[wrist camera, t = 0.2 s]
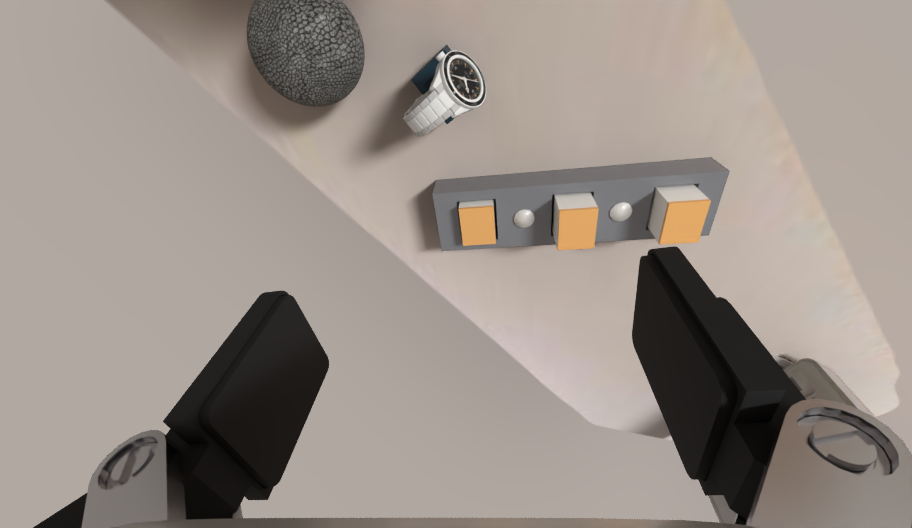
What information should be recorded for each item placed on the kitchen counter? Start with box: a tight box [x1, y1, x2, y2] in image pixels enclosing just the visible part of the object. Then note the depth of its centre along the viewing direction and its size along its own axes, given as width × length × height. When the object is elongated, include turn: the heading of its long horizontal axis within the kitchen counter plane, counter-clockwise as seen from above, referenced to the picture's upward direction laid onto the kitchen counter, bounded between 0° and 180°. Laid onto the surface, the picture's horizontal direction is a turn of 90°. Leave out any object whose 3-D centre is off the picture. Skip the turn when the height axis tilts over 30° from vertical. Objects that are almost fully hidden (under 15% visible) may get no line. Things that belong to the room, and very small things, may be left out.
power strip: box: [432, 157, 729, 251], centre depth 45 cm, size 8×32×4 cm, turn 97°
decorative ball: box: [247, 0, 364, 106], centre depth 35 cm, size 10×10×10 cm
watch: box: [403, 45, 486, 137], centre depth 36 cm, size 6×8×11 cm
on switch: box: [459, 199, 496, 246], centre depth 46 cm, size 5×4×4 cm
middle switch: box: [552, 192, 599, 250], centre depth 43 cm, size 5×4×4 cm
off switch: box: [647, 184, 711, 244], centre depth 41 cm, size 5×4×4 cm
